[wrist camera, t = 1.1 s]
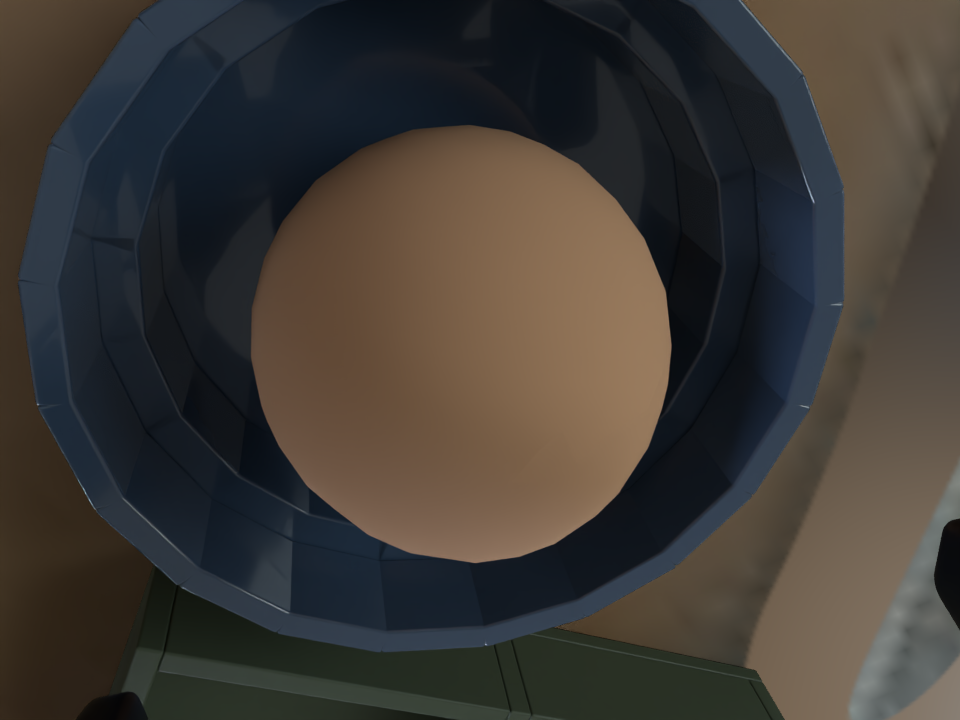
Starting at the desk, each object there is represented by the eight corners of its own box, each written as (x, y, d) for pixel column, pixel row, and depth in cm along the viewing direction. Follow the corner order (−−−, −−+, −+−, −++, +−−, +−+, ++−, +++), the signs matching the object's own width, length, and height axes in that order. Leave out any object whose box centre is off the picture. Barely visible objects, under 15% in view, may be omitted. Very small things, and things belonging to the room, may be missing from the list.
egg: (268, 66, 17) (235, 190, 9) (624, 110, 18) (840, 247, 11) (256, 396, 20) (223, 688, 12) (559, 409, 21) (692, 673, 14)
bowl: (28, 427, 20) (-52, 574, 15) (202, -257, 14) (155, -331, 10) (566, 557, 24) (622, 698, 20) (842, 74, 19) (1000, 122, 15)
